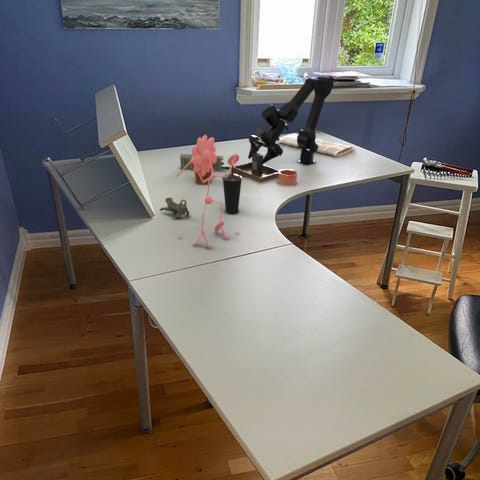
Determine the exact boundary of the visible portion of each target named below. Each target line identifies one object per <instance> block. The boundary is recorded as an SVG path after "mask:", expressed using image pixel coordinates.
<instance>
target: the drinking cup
mask: <svg viewBox="0 0 480 480" xmlns="http://www.w3.org/2000/svg"><path fill="white" fill-rule="evenodd" d="M233 167H234V165H233V166H232V168H231V171H230V173H229V176H227V174H225V175H224V174H223V176H227V177H228V178H224V177H221V179H222V185H223V195H224V198H223V199H224V205H225V206H224V207H225V214H228V215H236V214H238V213H239V207H240V197H241V188H242V181H243V177H242V176H240V175H237V174H234V173H233Z"/></svg>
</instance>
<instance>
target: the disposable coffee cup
mask: <svg viewBox="0 0 480 480" xmlns="http://www.w3.org/2000/svg"><path fill="white" fill-rule="evenodd" d="M192 158H193V155H192ZM211 164H212V163H211ZM200 172H201V170H200V171H199V173H200ZM200 175H201V174H200ZM211 176H212V170H211V169H210V172H206V174H205V175H204V176H203V177H202V176H201V177H202V179H203V181H204V180H206V179H207V178H209V177H211ZM194 178H195V183H196V184H198V185H208V181H206V182H204V183H202V181H201V179H200V177H199V175H198V173H197V172H196V173H194Z"/></svg>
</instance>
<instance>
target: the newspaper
mask: <svg viewBox="0 0 480 480" xmlns="http://www.w3.org/2000/svg"><path fill="white" fill-rule="evenodd" d="M298 134H299V133H290V134H287V135H284V136H282V137H279V139H280V140H279V141H277V142H278V144H279V143H280V144H283V145H288V146H292V147H296V148H298V143H297V136H298ZM315 142H316V144H317V145H318V150H317V151H316V152H315V153H321V154H324V155H328V156H331V157H341V156H343V155H346V154H348V153H349V152H352V151H353V150H355V149H354V147H353V146H351V145H346V144H342V143H338V142H334V141H329V140H325V139H321V138H316V139H315Z"/></svg>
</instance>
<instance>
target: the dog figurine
mask: <svg viewBox="0 0 480 480" xmlns="http://www.w3.org/2000/svg"><path fill="white" fill-rule="evenodd" d="M164 202H165V203H166V205H167V207H165V206H164V207H161V208H159V211H160V212H161V211H168V212H172V213H174V214H176V215H175V216H174V217H173V219H174V220H176V219H182V218H183V216H186V217H189V216H190V211H189V210H188V206H187V204H188V203H187V200H186V199H181V200H180V202H179V203H176V202H175V201H174V198H173V197H166V198H165V200H164ZM183 202H184V203H183ZM177 214H178V215H177Z"/></svg>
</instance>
